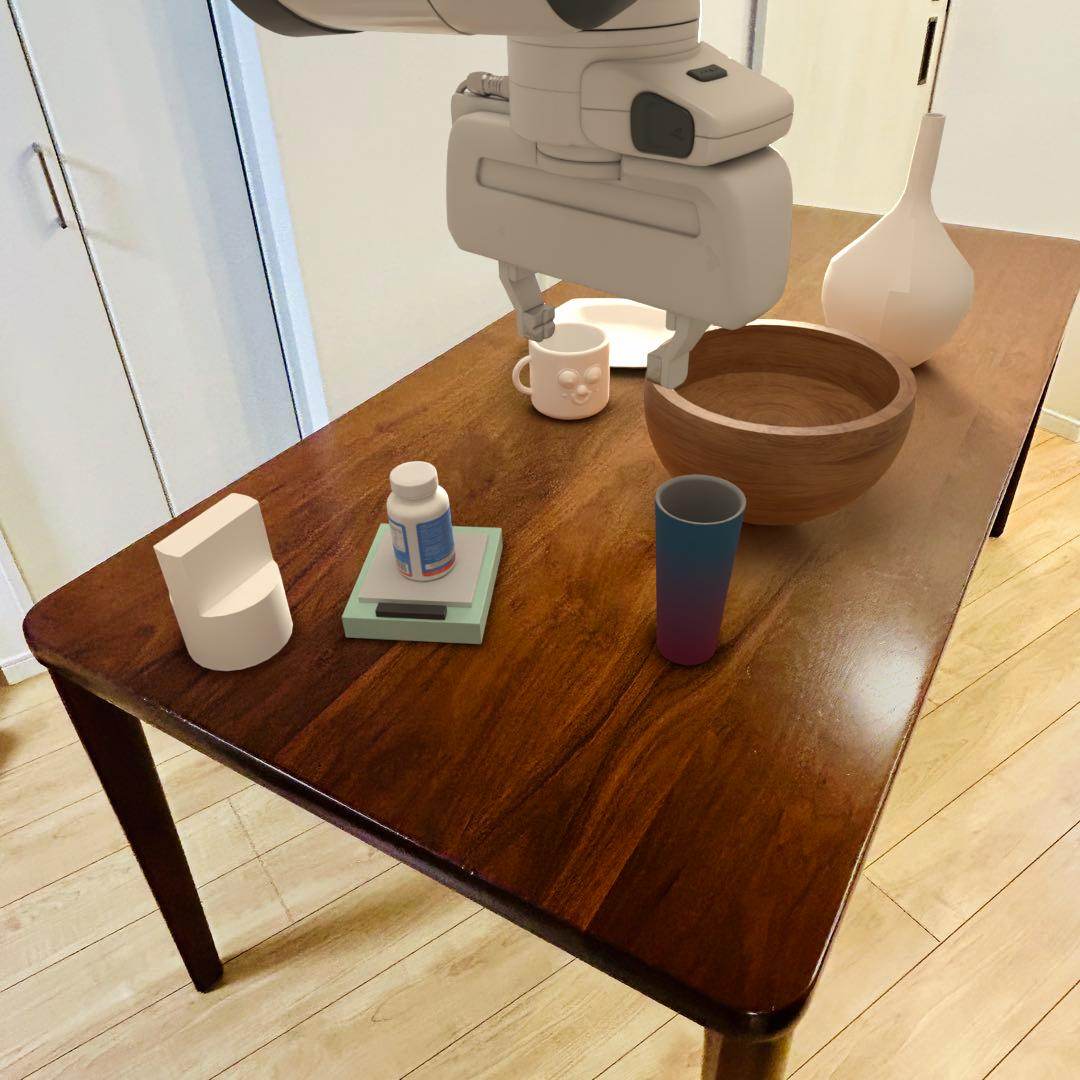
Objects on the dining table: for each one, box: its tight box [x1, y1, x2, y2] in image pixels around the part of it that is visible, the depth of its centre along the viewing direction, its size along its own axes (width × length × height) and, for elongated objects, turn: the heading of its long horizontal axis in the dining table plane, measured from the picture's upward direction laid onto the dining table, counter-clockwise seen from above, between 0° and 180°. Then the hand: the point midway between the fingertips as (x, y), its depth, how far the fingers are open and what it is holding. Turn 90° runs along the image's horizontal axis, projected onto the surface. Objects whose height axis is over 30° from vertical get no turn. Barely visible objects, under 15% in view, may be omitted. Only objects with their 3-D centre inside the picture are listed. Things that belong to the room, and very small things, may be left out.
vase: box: [820, 112, 975, 369], centre depth 113 cm, size 18×18×30 cm
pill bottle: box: [385, 460, 456, 581], centre depth 79 cm, size 6×5×10 cm
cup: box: [654, 475, 746, 666], centre depth 72 cm, size 7×7×15 cm
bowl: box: [643, 318, 917, 526], centre depth 89 cm, size 25×25×15 cm
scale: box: [341, 522, 504, 645], centre depth 83 cm, size 14×12×3 cm
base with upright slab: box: [153, 492, 294, 672], centre depth 76 cm, size 9×9×12 cm
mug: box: [511, 322, 611, 421], centre depth 109 cm, size 12×10×9 cm
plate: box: [553, 297, 675, 369], centre depth 126 cm, size 23×23×2 cm
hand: (598, 358), depth 51 cm, fingers open, 8 cm apart
